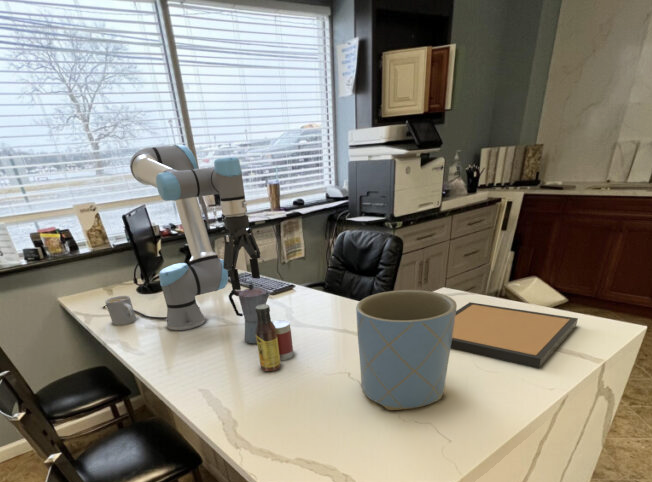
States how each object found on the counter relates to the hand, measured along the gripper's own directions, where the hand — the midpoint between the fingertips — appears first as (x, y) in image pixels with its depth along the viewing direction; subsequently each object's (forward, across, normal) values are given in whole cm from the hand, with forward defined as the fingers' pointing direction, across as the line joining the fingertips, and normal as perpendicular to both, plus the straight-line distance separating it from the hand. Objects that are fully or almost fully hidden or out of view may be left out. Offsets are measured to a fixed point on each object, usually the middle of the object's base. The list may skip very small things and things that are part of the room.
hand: (246, 283), depth 137 cm
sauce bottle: (+20, -20, -16) cm, 33 cm away
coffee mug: (+20, +8, +69) cm, 72 cm away
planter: (+21, -25, -57) cm, 65 cm away
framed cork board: (+21, +18, -80) cm, 84 cm away
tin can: (+20, -11, -16) cm, 28 cm away
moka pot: (+20, 0, 0) cm, 20 cm away
